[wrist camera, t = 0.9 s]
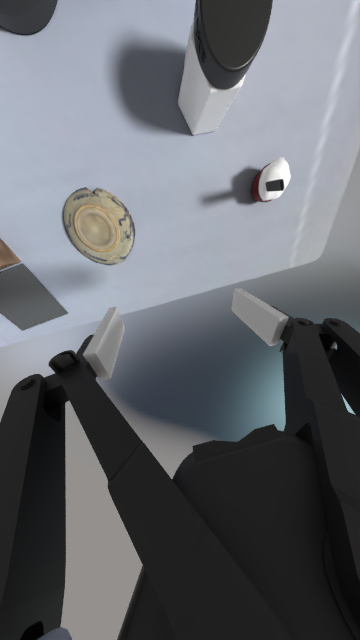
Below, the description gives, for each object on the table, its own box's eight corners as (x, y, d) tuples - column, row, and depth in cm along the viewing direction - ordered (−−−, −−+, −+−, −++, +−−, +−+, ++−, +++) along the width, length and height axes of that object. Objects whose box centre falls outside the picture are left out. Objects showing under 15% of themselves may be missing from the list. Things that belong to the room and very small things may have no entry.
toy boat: (277, 166, 31) (342, 126, 21) (273, 201, 34) (328, 182, 24) (239, 174, 30) (287, 137, 20) (238, 209, 33) (280, 193, 23)
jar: (189, 36, 21) (225, -152, 11) (232, 75, 24) (293, -47, 13) (172, 122, 25) (186, 42, 15) (210, 148, 27) (245, 95, 17)
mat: (-32, 284, 32) (-34, 285, 31) (23, 263, 32) (22, 264, 31) (23, 329, 39) (22, 330, 39) (68, 312, 39) (67, 313, 39)
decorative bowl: (93, 273, 36) (146, 253, 35) (87, 276, 32) (146, 255, 32) (46, 201, 28) (115, 175, 27) (33, 196, 25) (110, 167, 24)
